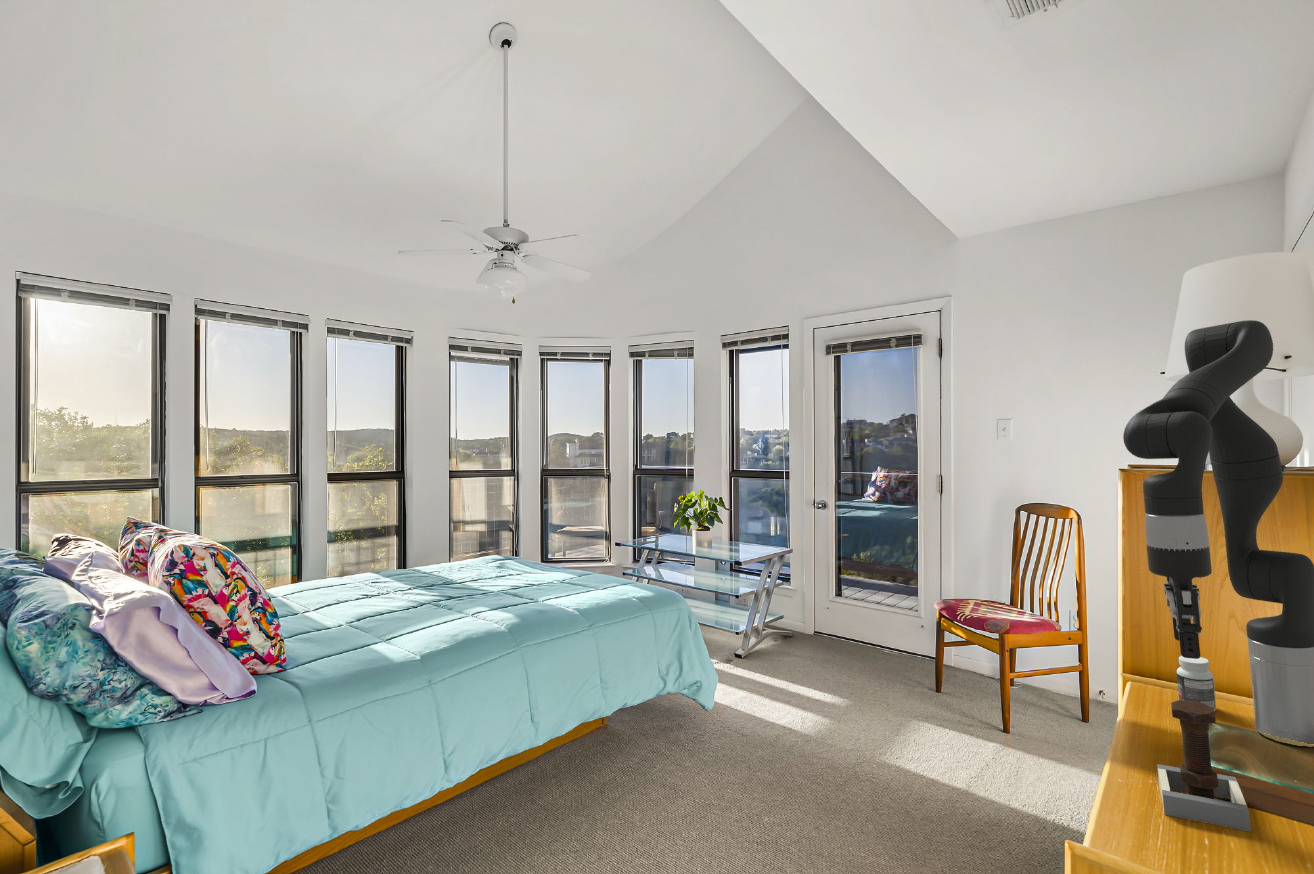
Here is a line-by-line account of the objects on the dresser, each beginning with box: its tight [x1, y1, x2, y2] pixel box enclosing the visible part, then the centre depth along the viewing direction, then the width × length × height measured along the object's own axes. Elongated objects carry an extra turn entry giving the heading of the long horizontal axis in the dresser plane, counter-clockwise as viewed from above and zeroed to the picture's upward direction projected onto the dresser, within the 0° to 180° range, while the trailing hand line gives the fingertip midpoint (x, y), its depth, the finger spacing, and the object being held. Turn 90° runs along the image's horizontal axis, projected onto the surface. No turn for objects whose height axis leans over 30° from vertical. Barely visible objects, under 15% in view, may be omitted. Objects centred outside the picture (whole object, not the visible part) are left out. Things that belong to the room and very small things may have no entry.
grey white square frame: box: [1156, 763, 1252, 833], centre depth 98 cm, size 10×10×3 cm
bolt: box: [1170, 699, 1219, 799], centre depth 98 cm, size 6×5×15 cm
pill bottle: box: [1176, 655, 1217, 712], centre depth 129 cm, size 6×6×10 cm
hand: (1186, 648), depth 98 cm, fingers open, 8 cm apart
